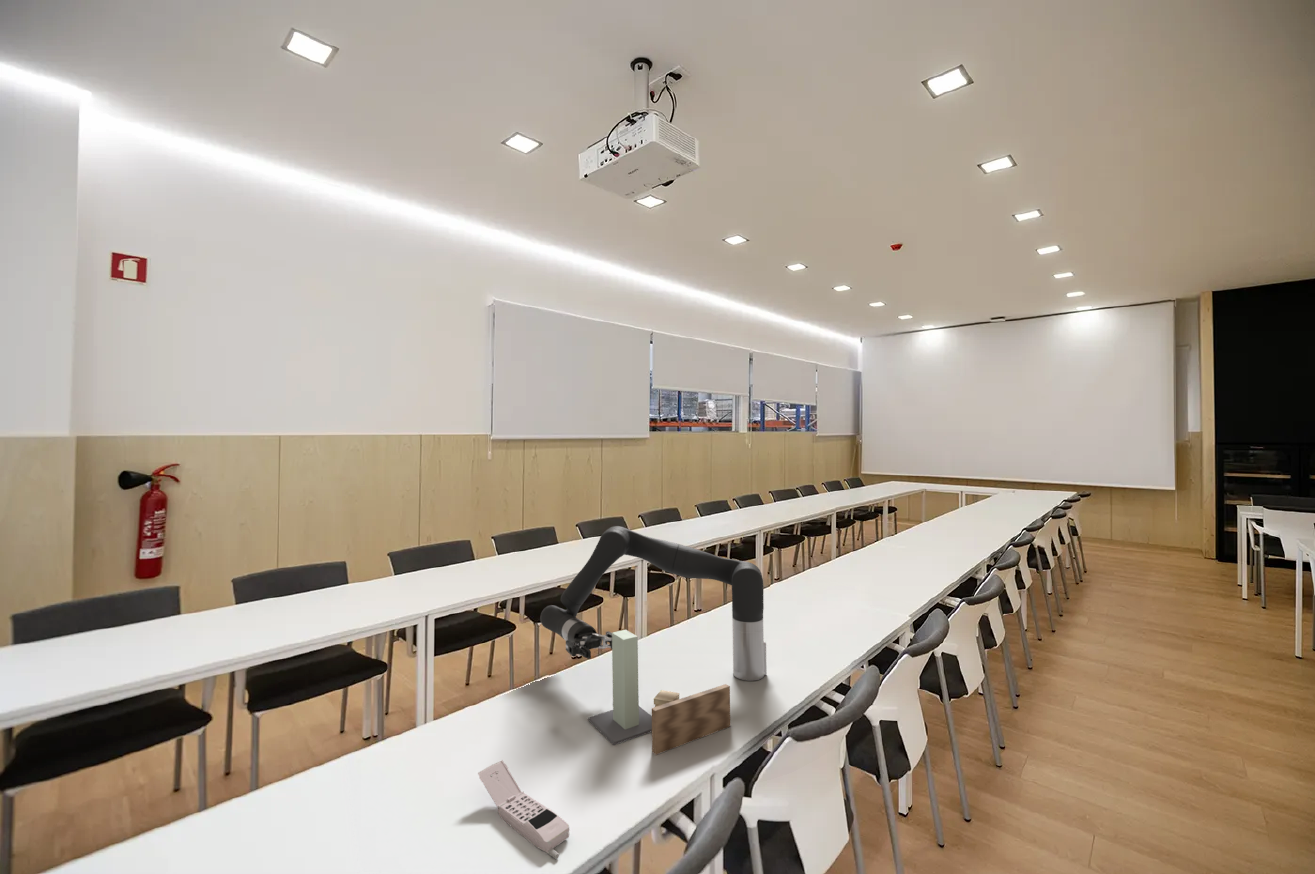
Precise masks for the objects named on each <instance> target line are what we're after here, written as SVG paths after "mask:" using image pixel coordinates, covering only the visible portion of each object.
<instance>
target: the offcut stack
mask: <svg viewBox="0 0 1315 874" xmlns="http://www.w3.org/2000/svg"><path fill="white" fill-rule="evenodd" d="M678 699H680V692H675V691H668V690H663V689H661V690H660V691H659V692H658V693H657V694H656V695H655V697H654V698H653V705H654V707H657V706H660V705H663V704H666V703H669V702H672V701H675V700H678Z"/></svg>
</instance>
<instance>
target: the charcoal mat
mask: <svg viewBox="0 0 1315 874" xmlns="http://www.w3.org/2000/svg"><path fill="white" fill-rule="evenodd" d="M587 721H588V722H590V724H591V725H592V726H594V727H595V729H596V730H598V731H599V732H600V734H601V735H603V736H604V737H605V738H606V739H607V741H608V742H610V743H611V744H612V745H613V746H614V745H618V744H620V743H624V742H626V741H629V740H633V739H634V738H637V737H641V736H643V735H645V734H649V733H652V714H650V713H649V712H648V711H646V710H645V709H644V708H643V707H641V706H640V705H639V725H637V726H634V727H631V728H628V729H624V728H623V727H621V726H620V725H619V724H618V723H617V722H616V721H615V720H613V709H611V710H608V711H604V712H601V713H598V714H595V715H592V716H588V717H587Z"/></svg>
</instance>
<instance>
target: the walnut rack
mask: <svg viewBox="0 0 1315 874" xmlns="http://www.w3.org/2000/svg"><path fill="white" fill-rule="evenodd" d="M730 694H731V686H730V685H728V684H727V683H725V684H721V685H719V686H716V687H712V688H710V689H709V688H708V689H706V690H703V691H700V692H697V693H694V694H692V695H688V696H685V697H682V698H679V699H678V700H675V701H672V702H669V703H666V704H663V705H660V706H657V707H655V706H653V707H651V716H652V732H651V750H652V751H651V752H652V753H653V754H654V755H655V756H657V755H659V754H662V753H664V752H667V751H670V750H672V749H675V748H678V747H680V746H683V745H685V744H688V743H690V742H693V741H696V740H698V739H701V738H705V737H707V736H709V735H712V734H714V733H717V732H720V731H723V730H725V729H728V728H730V727H731V695H730Z"/></svg>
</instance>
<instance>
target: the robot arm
mask: <svg viewBox="0 0 1315 874" xmlns="http://www.w3.org/2000/svg"><path fill="white" fill-rule="evenodd" d="M623 556H629V557H635V558H638V559H642V560H643V561H646V562H648V563H649V564H652V565H653V566H655V567H656V568H658V569H660V570H662V571H664V572H666V573H669V574H672V575H676V576H680V577H683V578H688V579H699V580H700V579H702V580H712V581H713V580H714V581H718V582H721V583H724V584H726V585H730V586H731V614H732V615H731V616H732V619H731V620H732V669H733V670H732V672H733V673H732V674H733V676H734V677H735V678H737V679H738V680H743V681H746V682H747V681H749V682H750V681H751V682H752V681H753V682H754V681H758V680H759V681H760V680H762V679H763V678H764V677H765V675H767V642H766V641H764V639H765V638H764V609H765V608H764V578H763V575H762V574H763V573H762V572H761V570H760V568H759V567H758V566H757V565H756V564H754V563H752V562H749V561H743V560H739V559H738V560H737V559H732V558H731V559H730V558H725V557H722V556H718V555H715V554H712V553H709V552H706V551H704V550H700V549H697V548H694V547H691V546H688V545H684V544H680V543H676V542H672V541H668V540H664V539H659V538H655V537H650V536H647V535H644V534H642V533H638V532H636V531H633V530H631V529H629V528H626V527H624V526H619V525H613V526H611V527H608V528H607V529H606V530H605V531H603V533H602V534H601V536H600V537H599V540H598V542H597V544H596V546H595V548H594V550H593V551H592V553H591V555H590V557H589V558H588V560H587V562H586V563H585V564H584V565H583V567H582V569H580V571H578V573H577V574H576V576H574V578H573V580H571V582H570V583H569V584H568V586H567V588H566V589H565V590H564V591H563V593H562V594H561V595H560V602H561V604H562V605H563V606H564V607H565V608H566V609H564V608H561V607H560V606H557V605H552V604H550V605H547V606H546V607H544V608H543V610H542V611H541V613H540V616H539V617H540V623H541V625H542V627H544V628H545V629H547V630H549V631H551V632H553V633H555V634H556V635H558V636H560V638H562V639H563V640H564V641H565V651H566V652H567V653H568V654H569V655H570V656H571V657H576V656H577V655H578V656H580V657H583V658H585V659H587V660H590V659H591V658H592V653H591V650H592V649H594V650H595V649H603V650H605V649H606V648H607V649H608V648H609V649H611V650H612V633H613V632H611V631H609V630H608V631H605V634H600V633H597V631H596V629H595V628H594V627H593V626H592V625H590V624H589V623H587V622H585V621H584V620H582V619H580V618H578V617H577V616H578V613H579V610H580V608H581V607H582V605H584V602H585V601H586V600H587V599H588V598H589V596H590V595H591V593H592V592H593V590H594V589H595V587H596V586H597V584H598V582H599V581H600V580H601V578H602V576H603V575H604V574H605V573H606V572H607V570H608V569H609V568H610V567H611V566H613V564H614V563H615V562H617V561H618V560H619V559H620V558H622V557H623Z"/></svg>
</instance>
